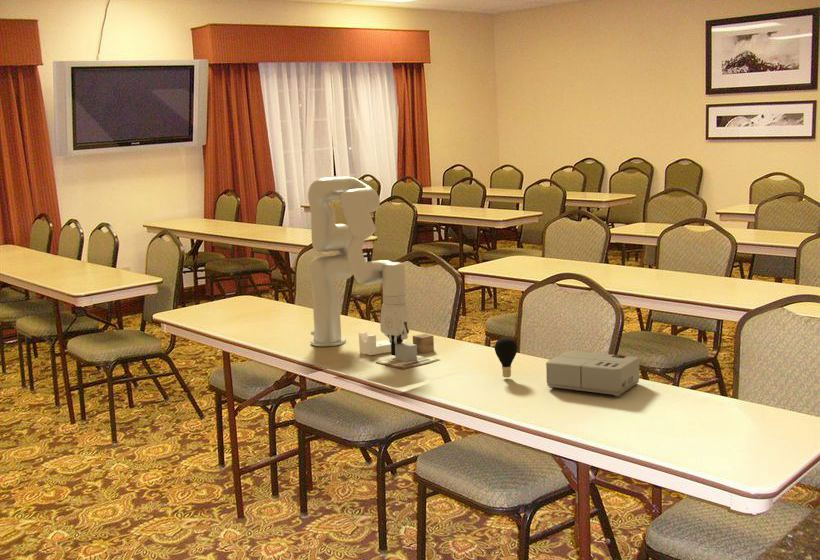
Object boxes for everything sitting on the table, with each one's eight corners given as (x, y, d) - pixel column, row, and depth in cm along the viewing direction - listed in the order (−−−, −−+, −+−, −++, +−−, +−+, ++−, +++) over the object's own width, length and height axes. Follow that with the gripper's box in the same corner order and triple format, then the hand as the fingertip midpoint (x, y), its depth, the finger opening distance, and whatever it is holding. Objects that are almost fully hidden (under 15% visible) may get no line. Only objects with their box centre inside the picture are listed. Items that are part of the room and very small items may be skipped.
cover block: (395, 359, 283) (395, 344, 282) (407, 357, 286) (406, 342, 285) (405, 362, 279) (405, 347, 278) (417, 359, 282) (416, 344, 282)
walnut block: (413, 353, 295) (412, 336, 294) (424, 350, 298) (423, 333, 297) (423, 355, 291) (422, 337, 290) (434, 352, 294) (433, 335, 293)
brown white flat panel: (375, 362, 282) (375, 361, 282) (412, 354, 292) (412, 353, 292) (403, 369, 272) (403, 368, 272) (440, 360, 282) (440, 359, 282)
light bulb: (522, 377, 257) (522, 337, 255) (506, 381, 252) (505, 341, 251) (506, 373, 262) (505, 334, 260) (490, 377, 258) (489, 337, 256)
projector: (619, 397, 232) (619, 369, 231) (544, 388, 245) (544, 361, 244) (641, 383, 246) (641, 356, 245) (569, 375, 258) (568, 349, 257)
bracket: (370, 358, 291) (369, 336, 290) (359, 354, 297) (358, 332, 296) (402, 352, 298) (402, 330, 297) (392, 348, 304) (391, 327, 303)
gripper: (371, 299, 287) (373, 353, 289) (400, 304, 276) (402, 360, 278) (388, 296, 292) (391, 349, 294) (418, 300, 280) (420, 356, 283)
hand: (396, 354), depth 286 cm, fingers closed
